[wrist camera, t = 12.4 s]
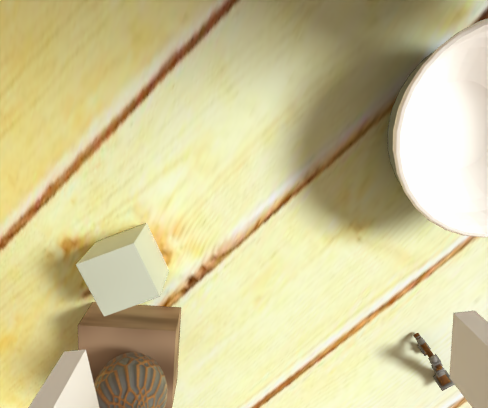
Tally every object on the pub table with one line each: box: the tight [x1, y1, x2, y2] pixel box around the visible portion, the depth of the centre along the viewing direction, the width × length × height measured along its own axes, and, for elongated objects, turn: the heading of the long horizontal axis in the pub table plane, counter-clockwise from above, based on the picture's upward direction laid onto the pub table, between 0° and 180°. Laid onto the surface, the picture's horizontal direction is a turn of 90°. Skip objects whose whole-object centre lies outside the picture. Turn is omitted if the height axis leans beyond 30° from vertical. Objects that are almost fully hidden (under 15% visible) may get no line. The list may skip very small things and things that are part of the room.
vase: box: [94, 352, 167, 408], centre depth 37 cm, size 7×7×9 cm
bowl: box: [388, 19, 488, 237], centre depth 37 cm, size 19×19×8 cm
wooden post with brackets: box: [414, 333, 455, 391], centre depth 47 cm, size 2×8×4 cm, turn 33°
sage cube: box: [76, 223, 169, 316], centre depth 41 cm, size 6×6×6 cm
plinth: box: [78, 302, 181, 408], centre depth 44 cm, size 10×10×5 cm
